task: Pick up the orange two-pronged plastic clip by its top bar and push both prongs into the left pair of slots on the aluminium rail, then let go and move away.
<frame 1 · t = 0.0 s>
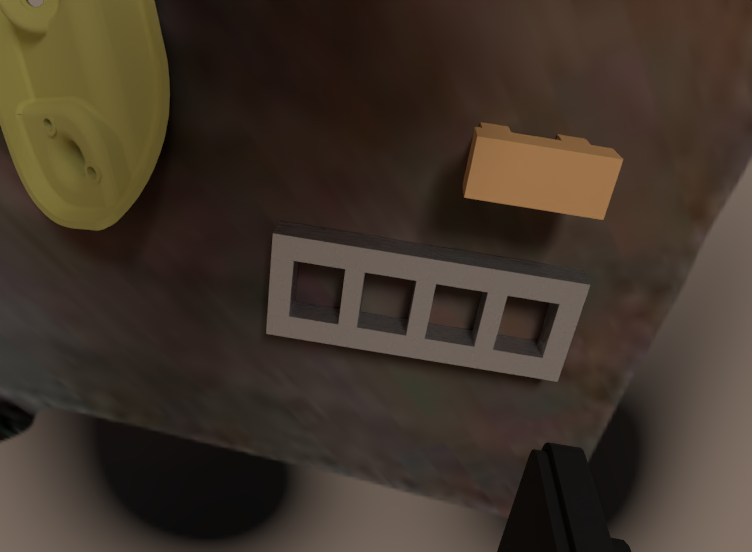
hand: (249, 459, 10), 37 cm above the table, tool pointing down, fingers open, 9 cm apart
clip: (527, 151, 44), on the table
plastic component: (86, 65, 45), on the table
rail: (421, 295, 50), on the table
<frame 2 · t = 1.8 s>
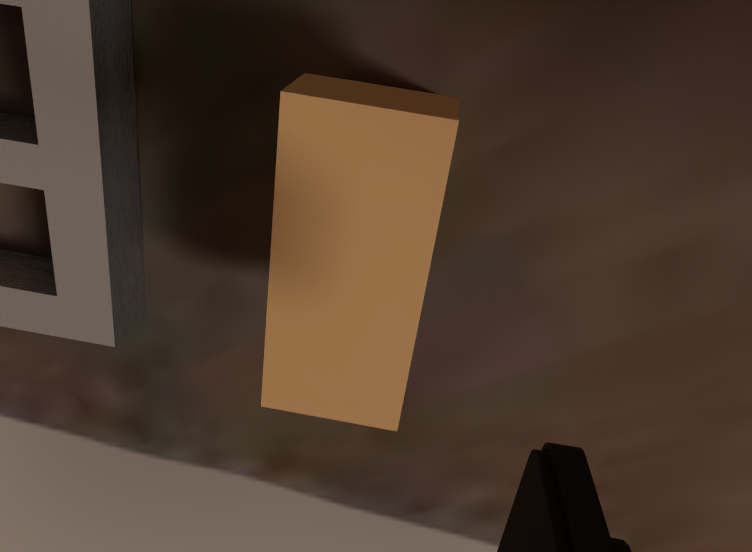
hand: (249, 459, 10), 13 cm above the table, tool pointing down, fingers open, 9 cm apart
clip: (375, 196, 21), on the table
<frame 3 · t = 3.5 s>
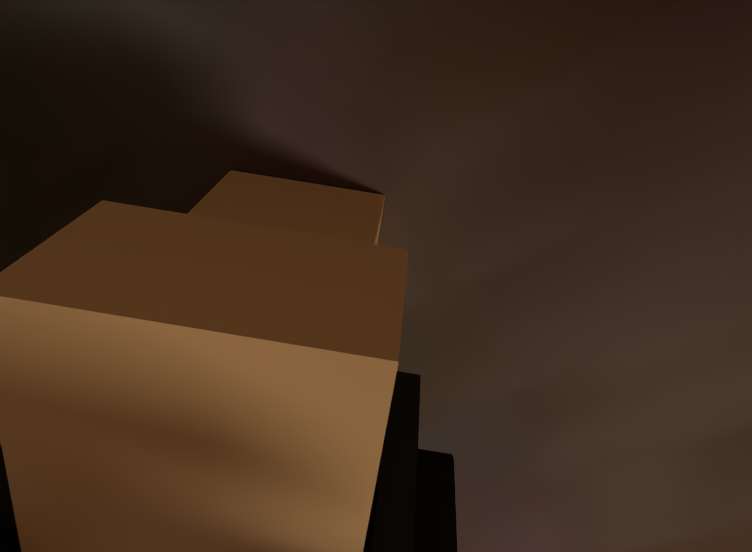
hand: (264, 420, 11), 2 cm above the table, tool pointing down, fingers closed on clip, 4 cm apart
clip: (293, 344, 14), on the table, touching gripper
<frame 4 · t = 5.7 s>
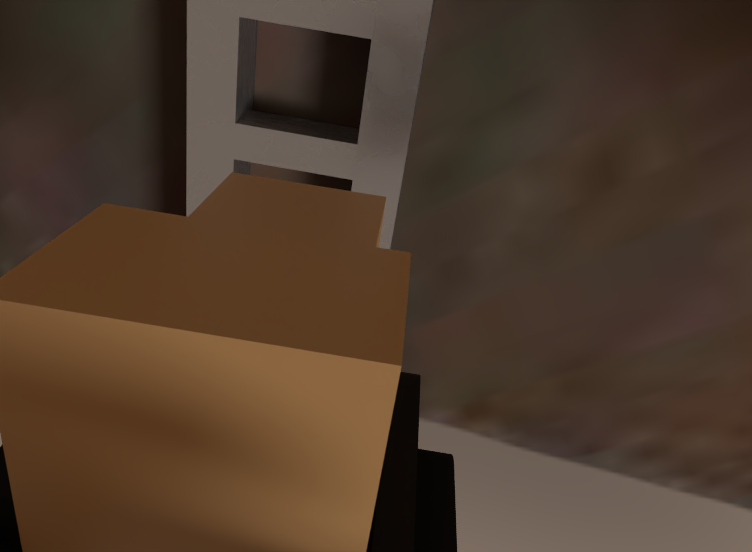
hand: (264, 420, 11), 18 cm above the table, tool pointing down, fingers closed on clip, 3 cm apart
clip: (294, 346, 14), point 16 cm above the table, touching gripper
rail: (319, 2, 25), on the table
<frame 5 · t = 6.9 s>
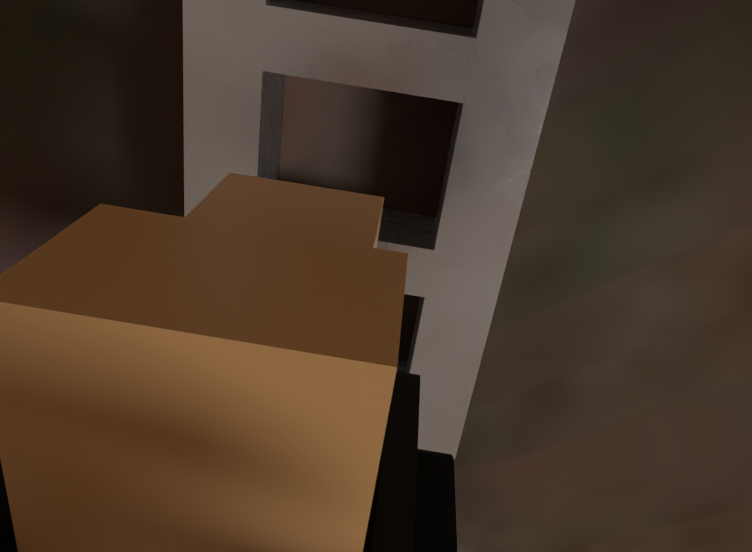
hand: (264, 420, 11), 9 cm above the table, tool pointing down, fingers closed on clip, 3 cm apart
clip: (292, 346, 14), point 7 cm above the table, touching gripper
rail: (376, 43, 17), on the table
when the fingers open (4 cm above the table, at t = 8.2 s): clip drops 1 cm, resting in rail.
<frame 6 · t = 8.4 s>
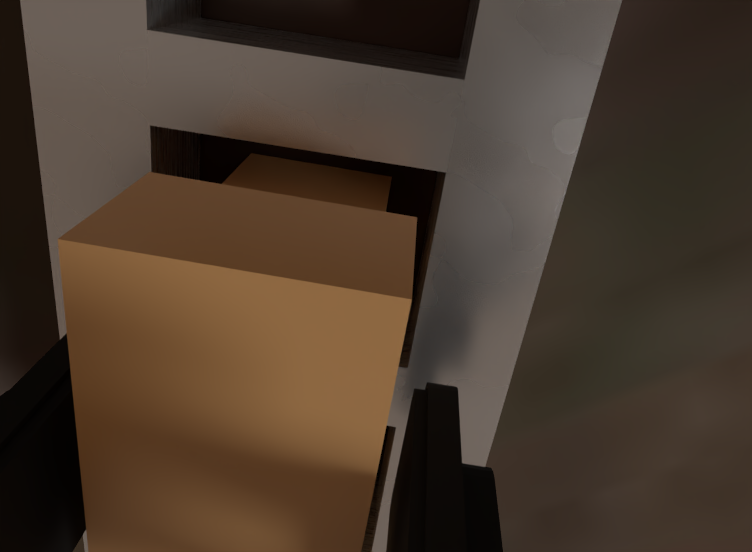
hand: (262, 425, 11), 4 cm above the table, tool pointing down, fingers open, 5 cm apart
clip: (304, 316, 15), resting in rail
rail: (325, 78, 12), on the table
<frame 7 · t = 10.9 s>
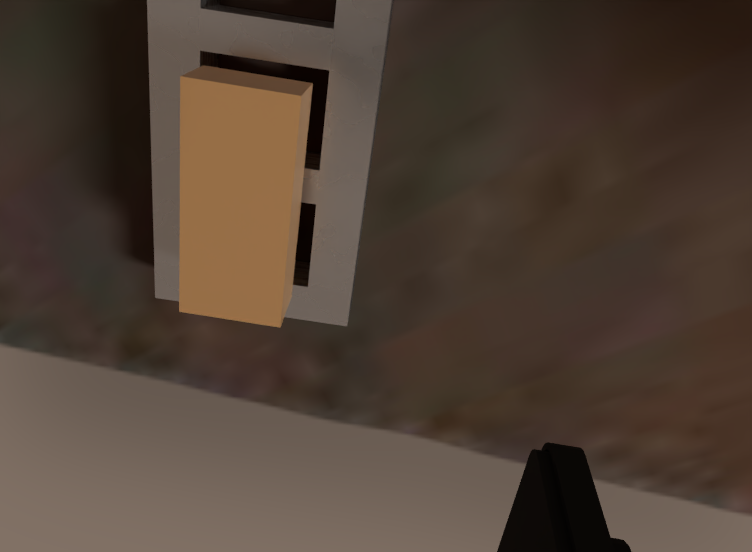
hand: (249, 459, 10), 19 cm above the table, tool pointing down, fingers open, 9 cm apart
clip: (272, 162, 28), resting in rail
rail: (279, 33, 26), on the table
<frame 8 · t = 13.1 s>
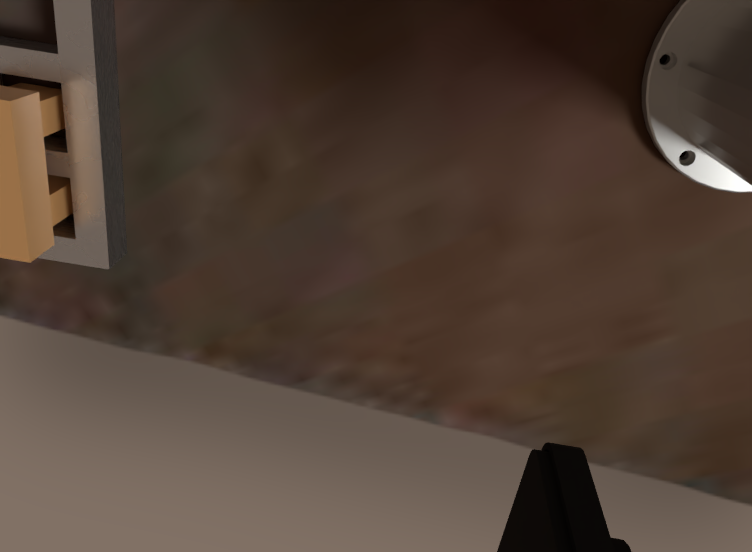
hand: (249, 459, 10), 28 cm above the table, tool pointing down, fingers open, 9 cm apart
clip: (51, 148, 38), resting in rail
rail: (40, 55, 36), on the table
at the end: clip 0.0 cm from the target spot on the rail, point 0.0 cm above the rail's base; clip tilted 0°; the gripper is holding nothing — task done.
